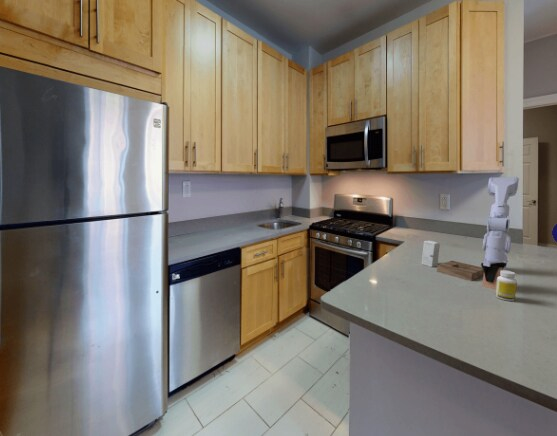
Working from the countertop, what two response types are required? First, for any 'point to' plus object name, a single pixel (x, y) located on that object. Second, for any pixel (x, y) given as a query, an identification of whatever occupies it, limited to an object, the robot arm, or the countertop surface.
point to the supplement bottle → (506, 286)
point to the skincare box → (430, 253)
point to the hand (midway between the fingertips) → (491, 280)
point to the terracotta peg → (493, 285)
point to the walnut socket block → (461, 270)
